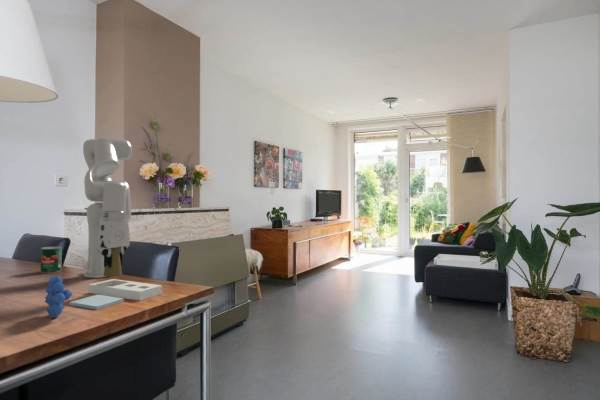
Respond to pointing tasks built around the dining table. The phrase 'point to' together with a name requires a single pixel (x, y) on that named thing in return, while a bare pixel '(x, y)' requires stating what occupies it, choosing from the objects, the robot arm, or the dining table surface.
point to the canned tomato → (51, 259)
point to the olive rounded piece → (114, 264)
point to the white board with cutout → (125, 289)
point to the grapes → (56, 296)
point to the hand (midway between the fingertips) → (113, 265)
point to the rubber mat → (96, 302)
